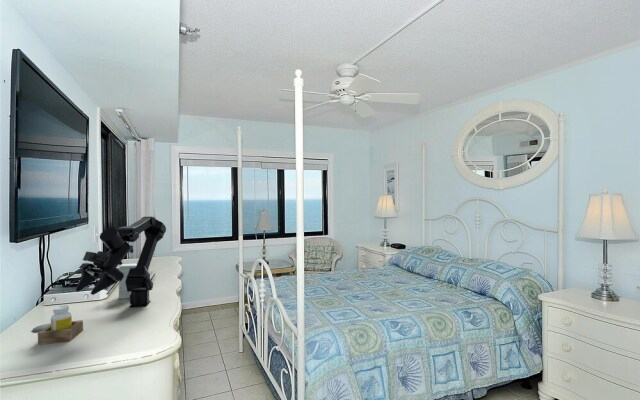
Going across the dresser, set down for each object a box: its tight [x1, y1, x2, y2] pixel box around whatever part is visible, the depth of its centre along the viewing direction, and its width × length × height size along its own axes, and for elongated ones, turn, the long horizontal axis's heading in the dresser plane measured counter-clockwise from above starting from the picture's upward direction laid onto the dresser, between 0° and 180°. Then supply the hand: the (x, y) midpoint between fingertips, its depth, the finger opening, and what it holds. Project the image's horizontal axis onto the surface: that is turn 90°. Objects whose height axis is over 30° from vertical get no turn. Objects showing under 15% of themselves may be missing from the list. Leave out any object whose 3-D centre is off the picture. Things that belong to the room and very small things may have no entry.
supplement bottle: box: [50, 305, 73, 331], centre depth 109 cm, size 5×5×10 cm
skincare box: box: [118, 263, 137, 300], centre depth 153 cm, size 8×6×15 cm
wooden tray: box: [37, 319, 84, 345], centre depth 109 cm, size 9×9×4 cm
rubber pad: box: [32, 322, 51, 333], centre depth 117 cm, size 7×7×1 cm
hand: (84, 292), depth 115 cm, fingers open, 9 cm apart
